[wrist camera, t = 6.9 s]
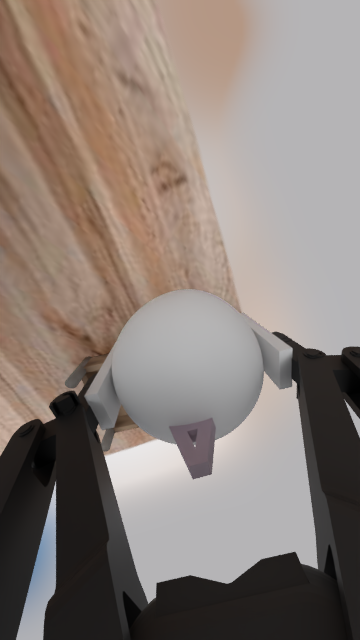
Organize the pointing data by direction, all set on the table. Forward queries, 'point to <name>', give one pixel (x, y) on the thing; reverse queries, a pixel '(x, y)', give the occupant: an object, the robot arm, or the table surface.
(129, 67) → the table surface
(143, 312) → the ornament
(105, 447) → the keeper
